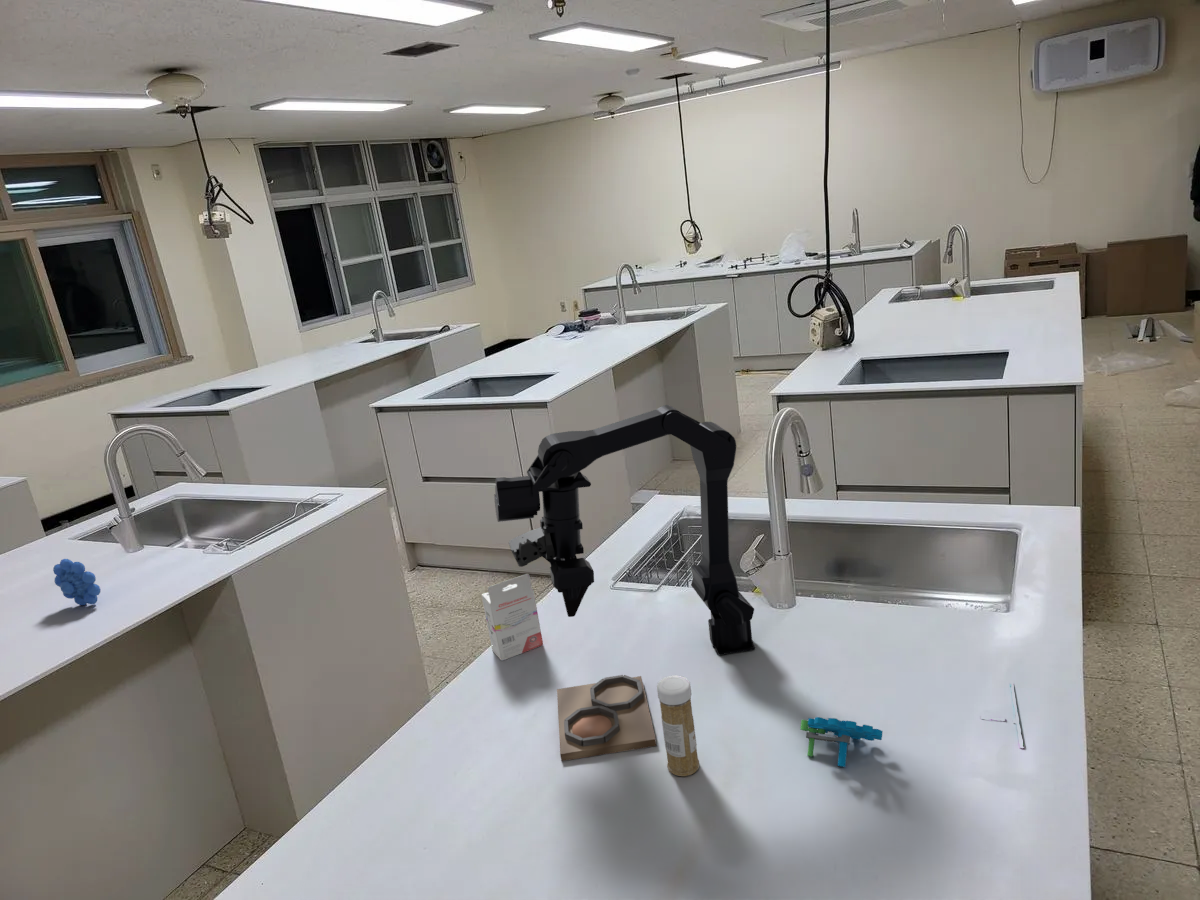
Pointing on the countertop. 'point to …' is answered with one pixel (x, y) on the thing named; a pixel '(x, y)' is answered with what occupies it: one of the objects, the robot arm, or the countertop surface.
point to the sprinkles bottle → (678, 725)
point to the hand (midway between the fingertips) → (566, 603)
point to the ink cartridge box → (512, 617)
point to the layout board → (604, 718)
